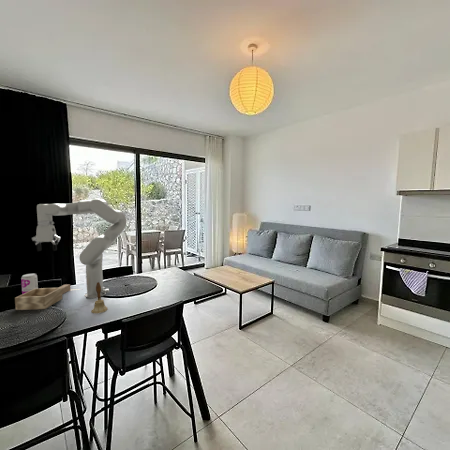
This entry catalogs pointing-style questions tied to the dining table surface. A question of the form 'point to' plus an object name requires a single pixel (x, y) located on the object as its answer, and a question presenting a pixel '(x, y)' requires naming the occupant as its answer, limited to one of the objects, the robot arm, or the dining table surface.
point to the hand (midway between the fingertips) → (47, 250)
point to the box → (38, 298)
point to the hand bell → (99, 302)
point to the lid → (66, 288)
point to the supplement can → (29, 282)
